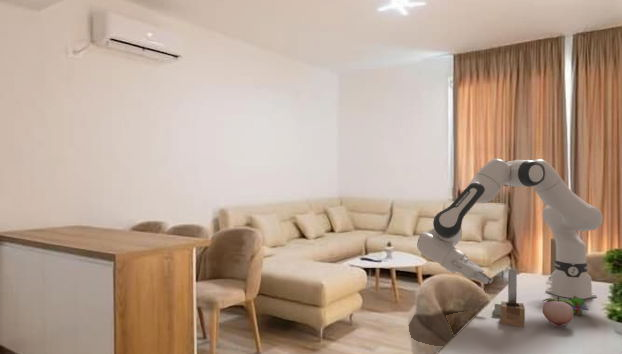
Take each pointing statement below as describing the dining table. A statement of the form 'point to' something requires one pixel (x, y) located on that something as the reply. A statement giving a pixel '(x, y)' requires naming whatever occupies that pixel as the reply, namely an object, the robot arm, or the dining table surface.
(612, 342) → the dining table surface
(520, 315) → the brown cube-like block
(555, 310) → the decorative fruit
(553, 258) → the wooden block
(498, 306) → the block
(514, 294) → the pin gauge
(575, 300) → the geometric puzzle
